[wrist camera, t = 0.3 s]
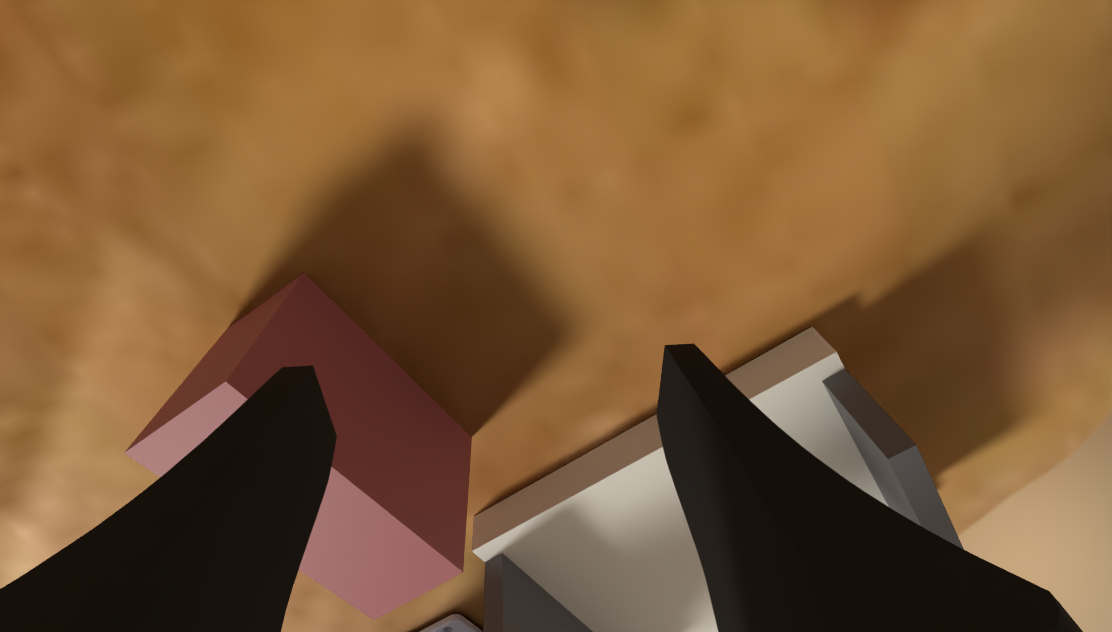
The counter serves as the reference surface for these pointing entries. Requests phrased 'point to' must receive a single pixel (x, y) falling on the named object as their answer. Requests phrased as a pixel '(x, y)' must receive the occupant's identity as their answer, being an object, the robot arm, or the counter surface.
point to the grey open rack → (678, 507)
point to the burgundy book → (340, 447)
